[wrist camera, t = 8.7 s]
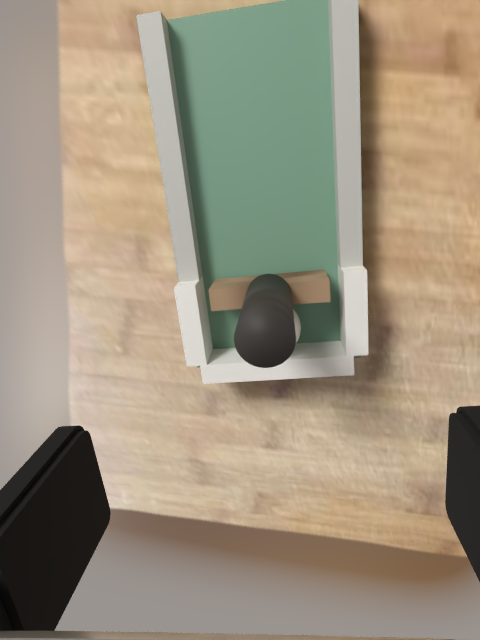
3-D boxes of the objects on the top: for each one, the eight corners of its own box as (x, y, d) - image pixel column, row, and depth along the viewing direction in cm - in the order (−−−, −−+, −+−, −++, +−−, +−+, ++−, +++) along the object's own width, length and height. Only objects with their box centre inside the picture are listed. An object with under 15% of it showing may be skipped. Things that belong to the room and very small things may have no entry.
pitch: (350, -5, 26) (362, -36, 22) (358, 352, 33) (368, 374, 29) (148, 29, 27) (127, 5, 24) (199, 362, 35) (189, 384, 31)
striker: (324, 259, 30) (348, 303, 19) (325, 299, 31) (350, 362, 20) (213, 269, 31) (179, 316, 20) (219, 307, 32) (188, 372, 21)
